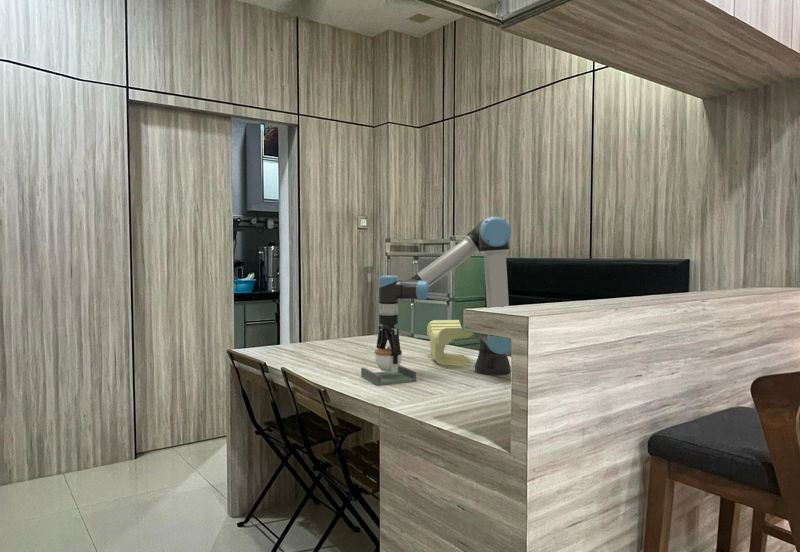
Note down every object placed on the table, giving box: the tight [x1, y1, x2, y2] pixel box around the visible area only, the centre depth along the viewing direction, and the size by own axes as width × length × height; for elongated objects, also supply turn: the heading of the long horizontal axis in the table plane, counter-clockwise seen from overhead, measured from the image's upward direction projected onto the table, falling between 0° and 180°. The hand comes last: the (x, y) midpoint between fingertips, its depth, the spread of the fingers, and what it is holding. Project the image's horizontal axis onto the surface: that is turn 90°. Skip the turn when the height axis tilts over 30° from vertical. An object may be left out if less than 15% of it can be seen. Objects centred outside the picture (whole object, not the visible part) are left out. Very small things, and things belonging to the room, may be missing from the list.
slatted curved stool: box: [426, 319, 475, 366], centre depth 249 cm, size 30×16×18 cm, turn 7°
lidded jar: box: [374, 345, 403, 372], centre depth 212 cm, size 11×11×9 cm
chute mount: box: [360, 364, 417, 387], centre depth 213 cm, size 16×17×4 cm
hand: (388, 369), depth 213 cm, fingers closed on lidded jar, 11 cm apart
